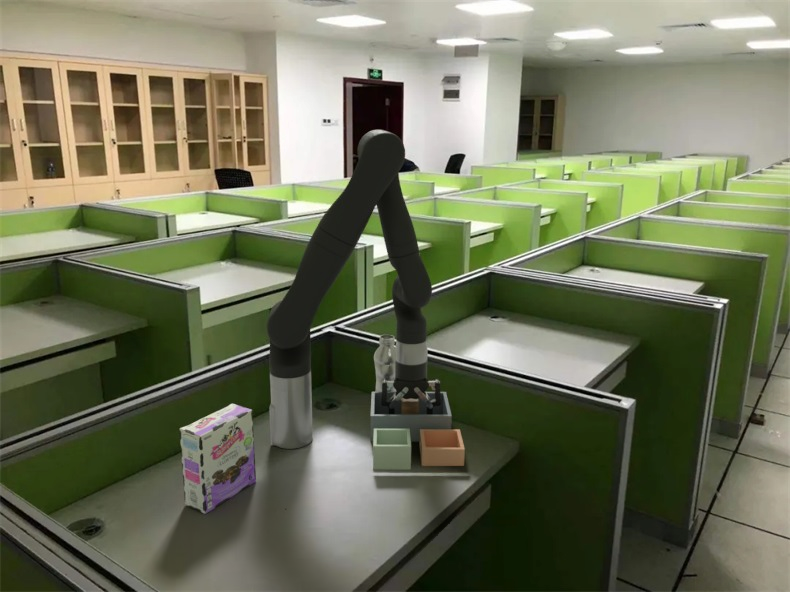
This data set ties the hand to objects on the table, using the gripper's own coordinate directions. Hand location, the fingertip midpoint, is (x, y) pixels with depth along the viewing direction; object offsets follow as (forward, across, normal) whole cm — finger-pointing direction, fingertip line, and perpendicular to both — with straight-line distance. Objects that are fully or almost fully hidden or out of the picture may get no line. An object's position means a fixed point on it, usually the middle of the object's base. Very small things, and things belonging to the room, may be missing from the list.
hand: (410, 420), depth 151 cm
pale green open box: (+2, -5, -15) cm, 16 cm away
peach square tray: (+2, +6, -13) cm, 15 cm away
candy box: (+2, -39, -27) cm, 47 cm away
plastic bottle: (+3, -6, +11) cm, 13 cm away
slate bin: (+2, 0, 0) cm, 2 cm away
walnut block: (+2, 0, 0) cm, 2 cm away
